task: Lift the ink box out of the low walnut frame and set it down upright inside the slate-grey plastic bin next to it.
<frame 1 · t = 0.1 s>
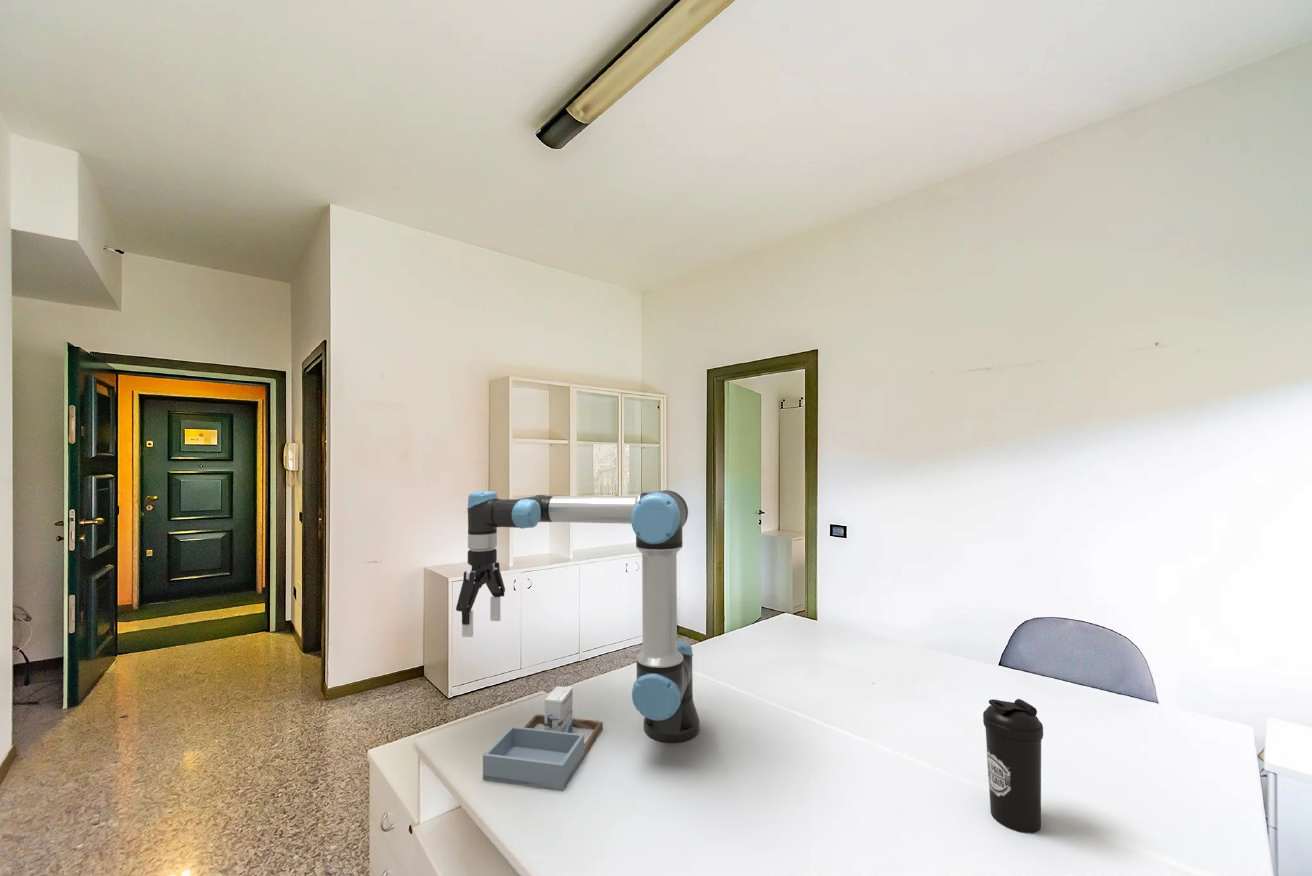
hand: (482, 628, 145), 28 cm above the table, fingers open, 13 cm apart
grey bin: (535, 768, 128), on the table
water bottle: (1015, 819, 109), on the table
ink box: (558, 738, 142), resting in walnut frame
walnut frame: (558, 737, 142), on the table
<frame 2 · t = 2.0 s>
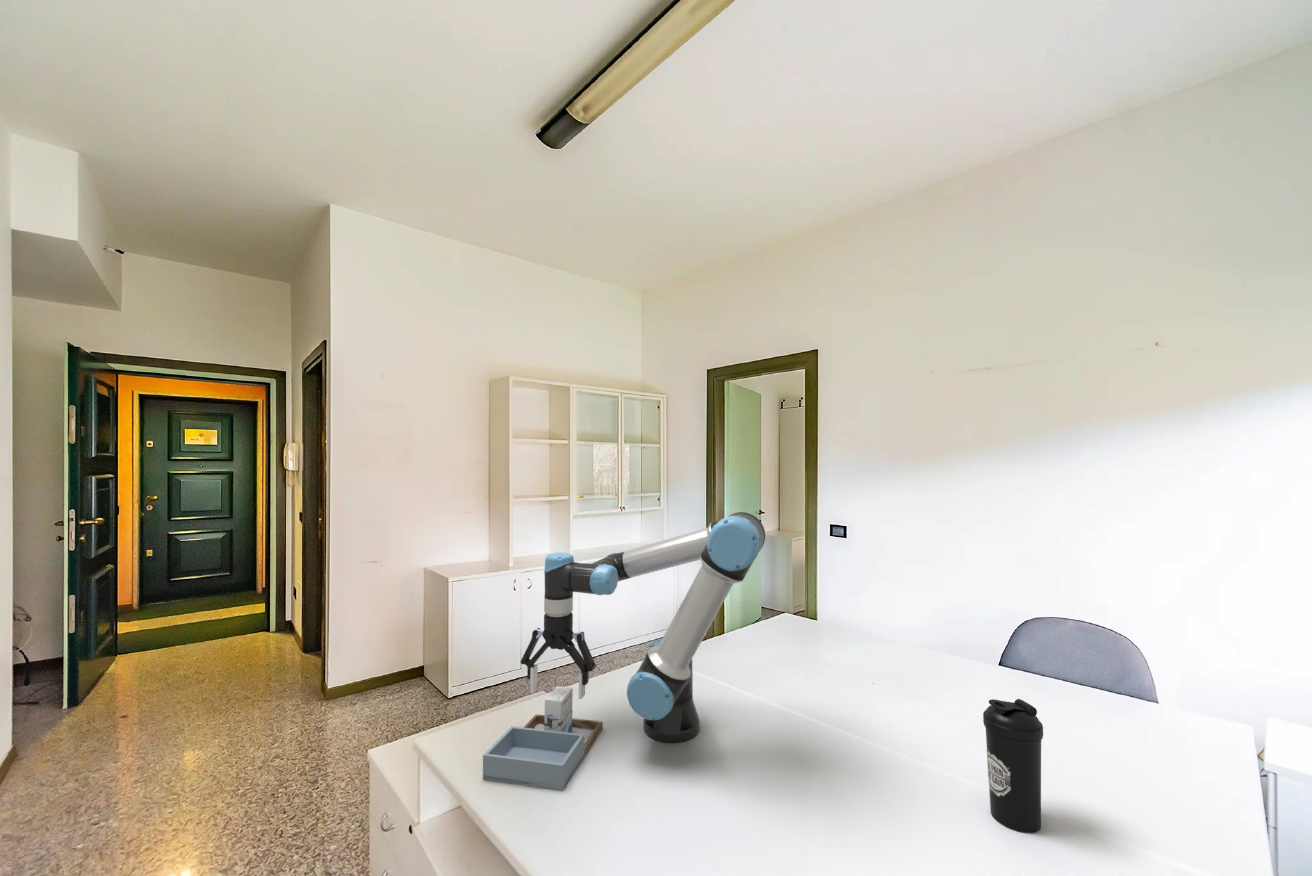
hand: (557, 694, 142), 11 cm above the table, fingers open, 13 cm apart
nothing on the table moved.
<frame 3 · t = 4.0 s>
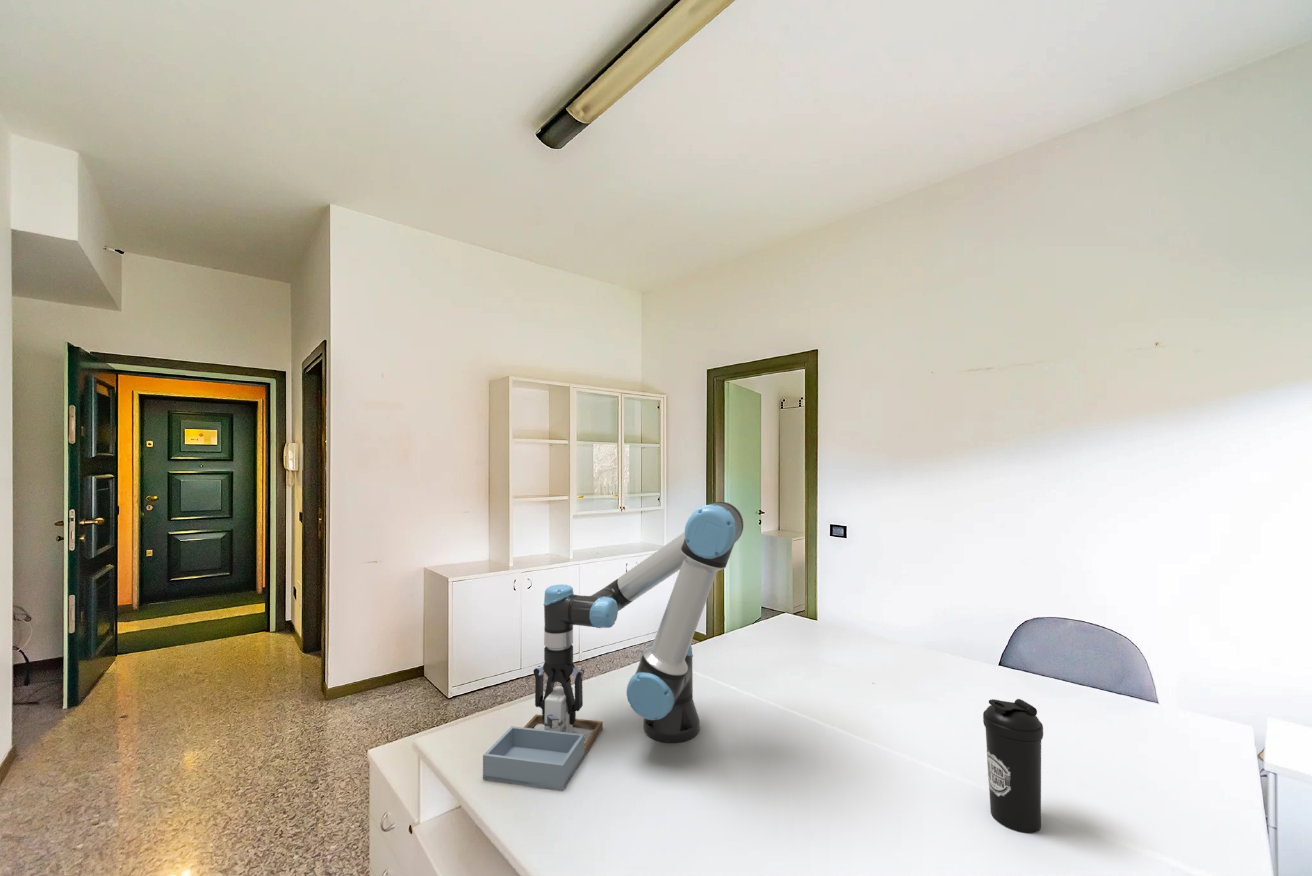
hand: (558, 734, 142), 1 cm above the table, fingers closed on ink box, 5 cm apart
ink box: (559, 738, 142), resting in walnut frame, touching gripper
everything else where it was.
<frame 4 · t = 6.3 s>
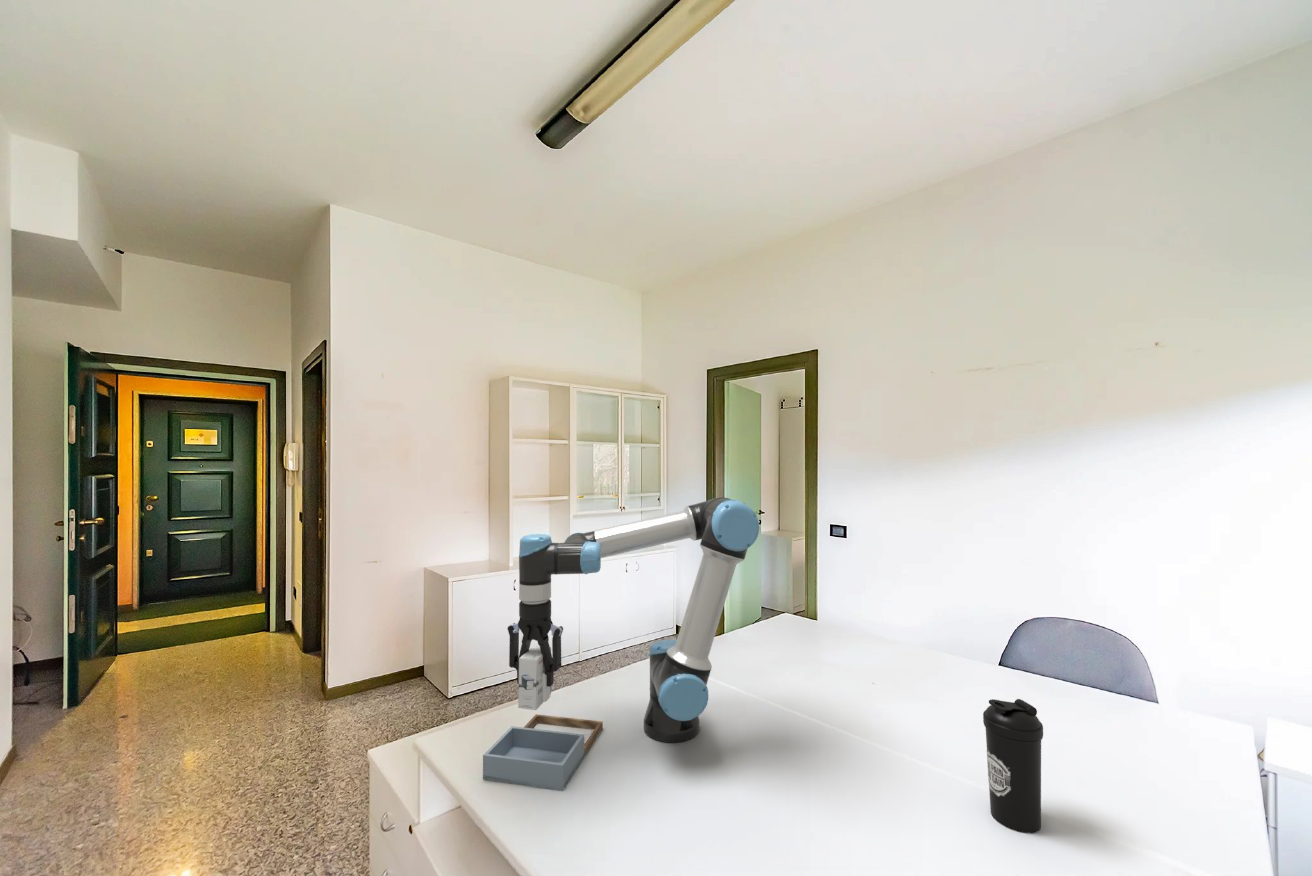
hand: (535, 698, 129), 16 cm above the table, fingers closed on ink box, 5 cm apart
ink box: (535, 702, 129), point 15 cm above the table, touching gripper
everything else where it was.
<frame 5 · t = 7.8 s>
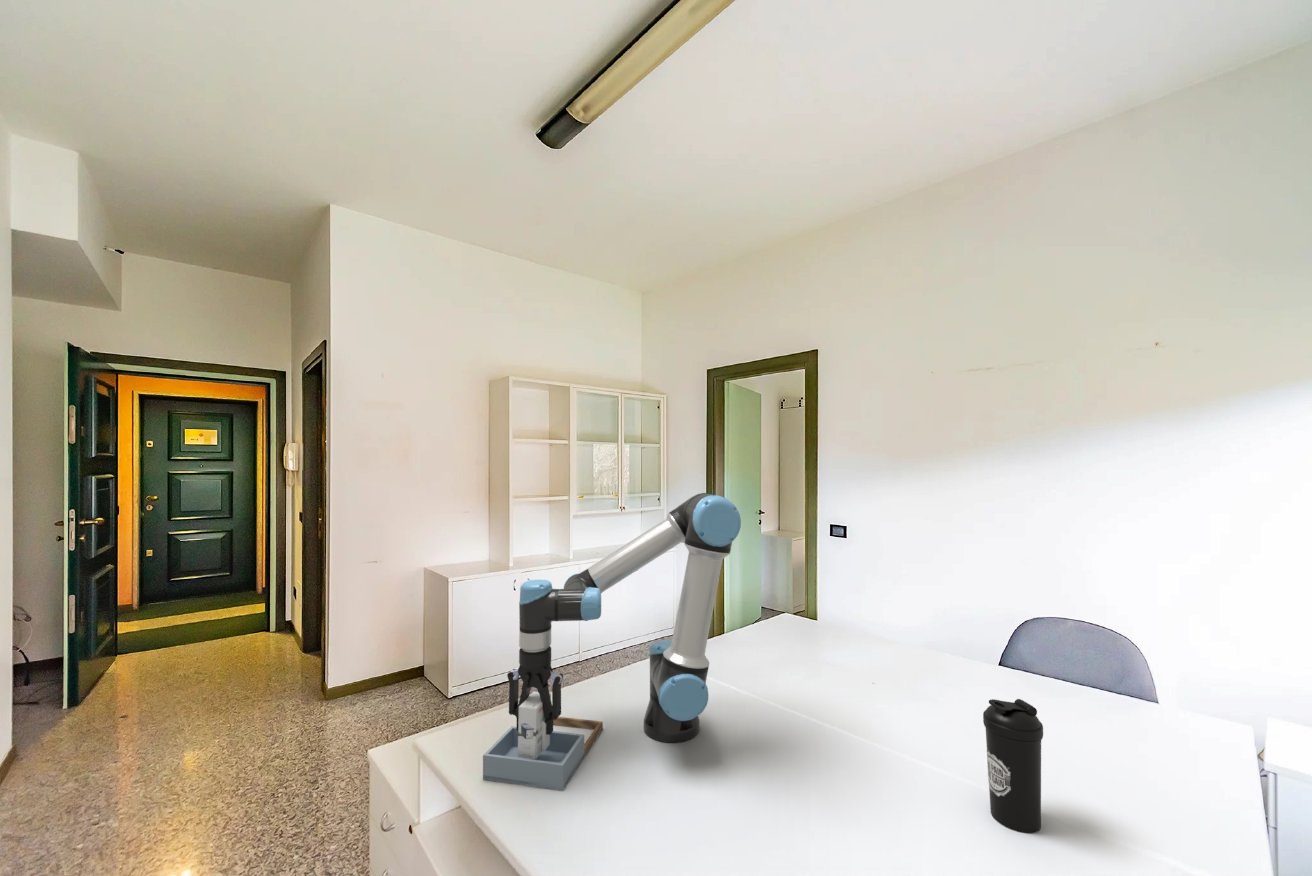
hand: (534, 745, 128), 5 cm above the table, fingers closed on ink box, 5 cm apart
ink box: (535, 750, 128), point 4 cm above the table, touching gripper
everything else where it was.
when the fingers open (3 cm above the table, at t = 8.9 s): ink box stays where it is, resting on grey bin.
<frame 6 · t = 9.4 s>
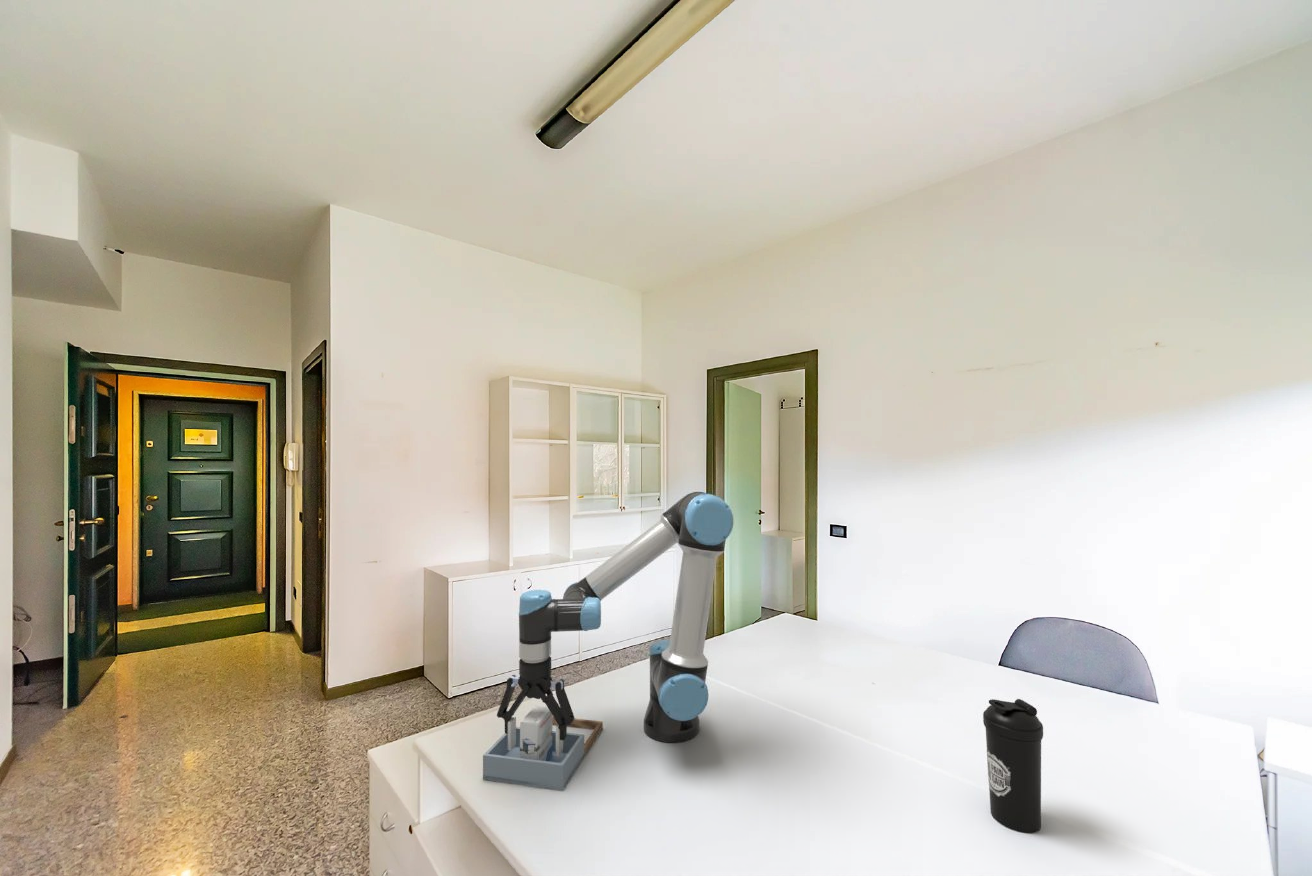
hand: (535, 750, 128), 4 cm above the table, fingers open, 11 cm apart
ink box: (536, 764, 128), point 1 cm above the table, touching grey bin
everything else where it was.
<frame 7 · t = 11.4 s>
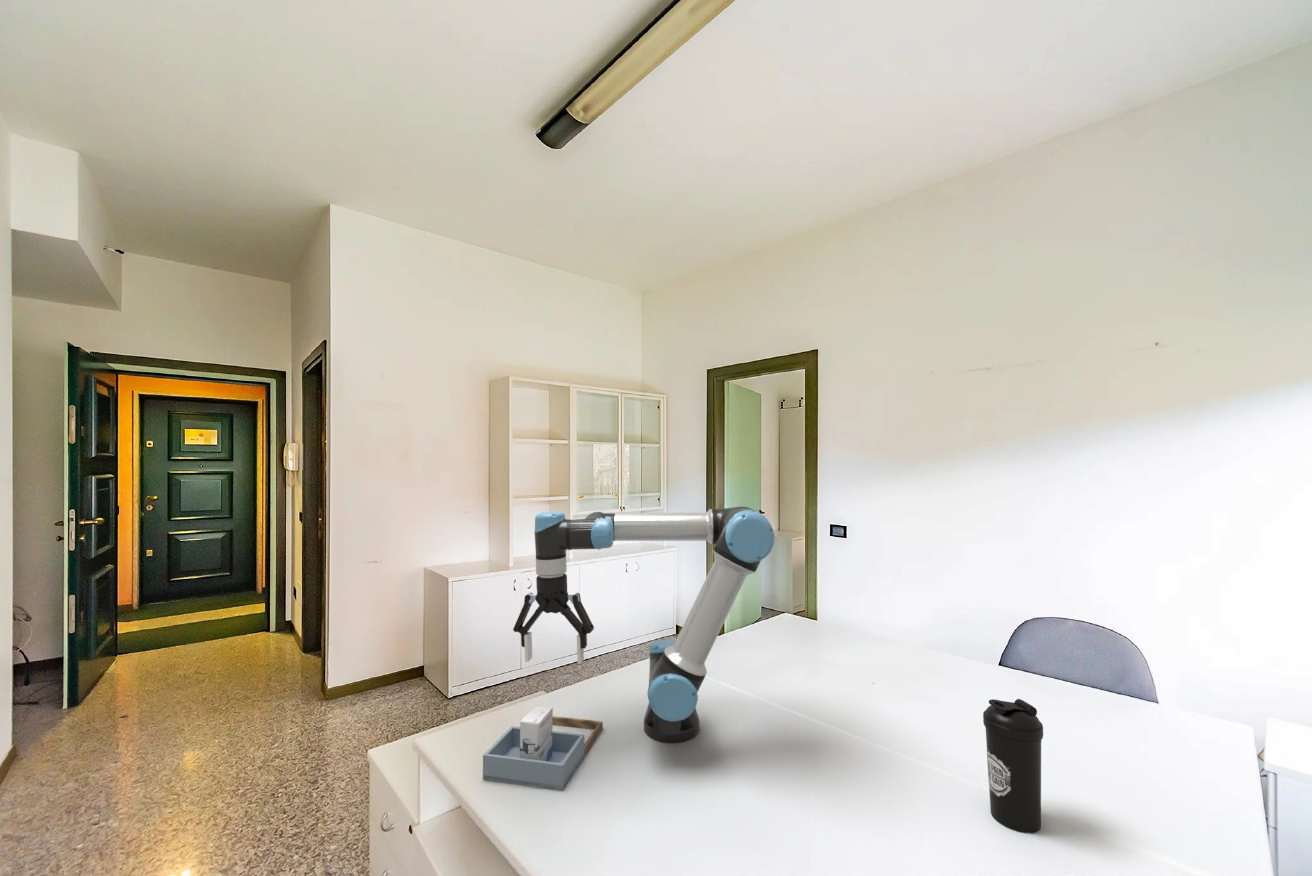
hand: (554, 660, 134), 23 cm above the table, fingers open, 13 cm apart
nothing on the table moved.
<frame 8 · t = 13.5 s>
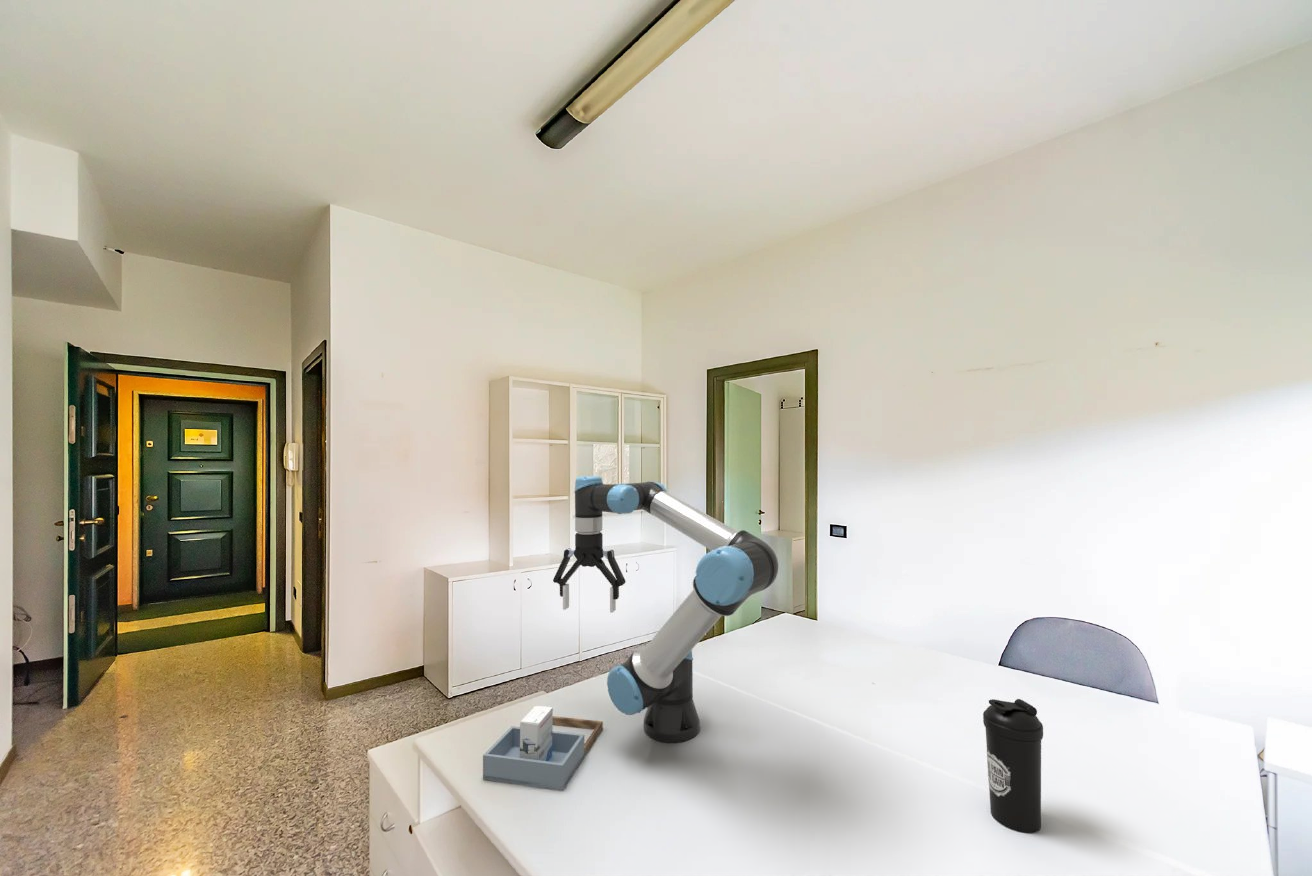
hand: (589, 609, 148), 32 cm above the table, fingers open, 13 cm apart
nothing on the table moved.
at the end: ink box inside the target area on the grey bin (0.3 cm from its centre), point 0.8 cm above the grey bin's base; ink box tilted 0°; the gripper is holding nothing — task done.
